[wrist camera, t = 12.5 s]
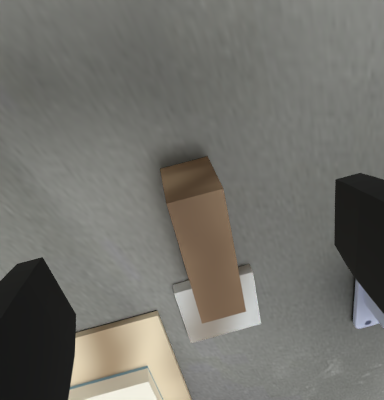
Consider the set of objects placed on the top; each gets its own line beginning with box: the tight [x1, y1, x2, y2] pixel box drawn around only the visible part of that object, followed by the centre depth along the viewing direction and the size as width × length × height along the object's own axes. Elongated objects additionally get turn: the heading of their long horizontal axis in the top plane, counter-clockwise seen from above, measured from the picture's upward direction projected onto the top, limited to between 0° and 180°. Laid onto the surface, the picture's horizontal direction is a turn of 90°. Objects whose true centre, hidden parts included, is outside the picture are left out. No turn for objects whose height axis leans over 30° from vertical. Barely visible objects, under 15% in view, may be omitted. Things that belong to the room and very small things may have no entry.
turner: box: [160, 156, 261, 343], centre depth 20 cm, size 5×13×4 cm, turn 12°
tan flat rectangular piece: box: [70, 311, 192, 400], centre depth 26 cm, size 10×12×1 cm
